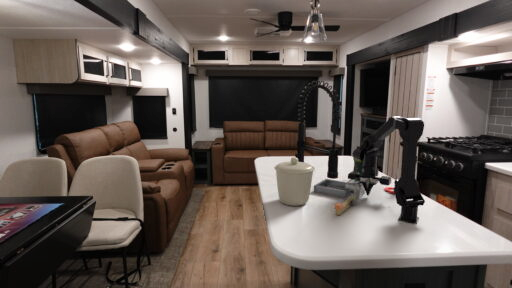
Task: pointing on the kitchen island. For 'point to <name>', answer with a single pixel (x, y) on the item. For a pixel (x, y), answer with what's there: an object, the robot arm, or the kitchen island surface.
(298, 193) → the canister
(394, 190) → the tow hook
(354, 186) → the block
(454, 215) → the kitchen island surface
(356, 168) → the coffee jar
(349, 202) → the lock bar
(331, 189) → the dock
